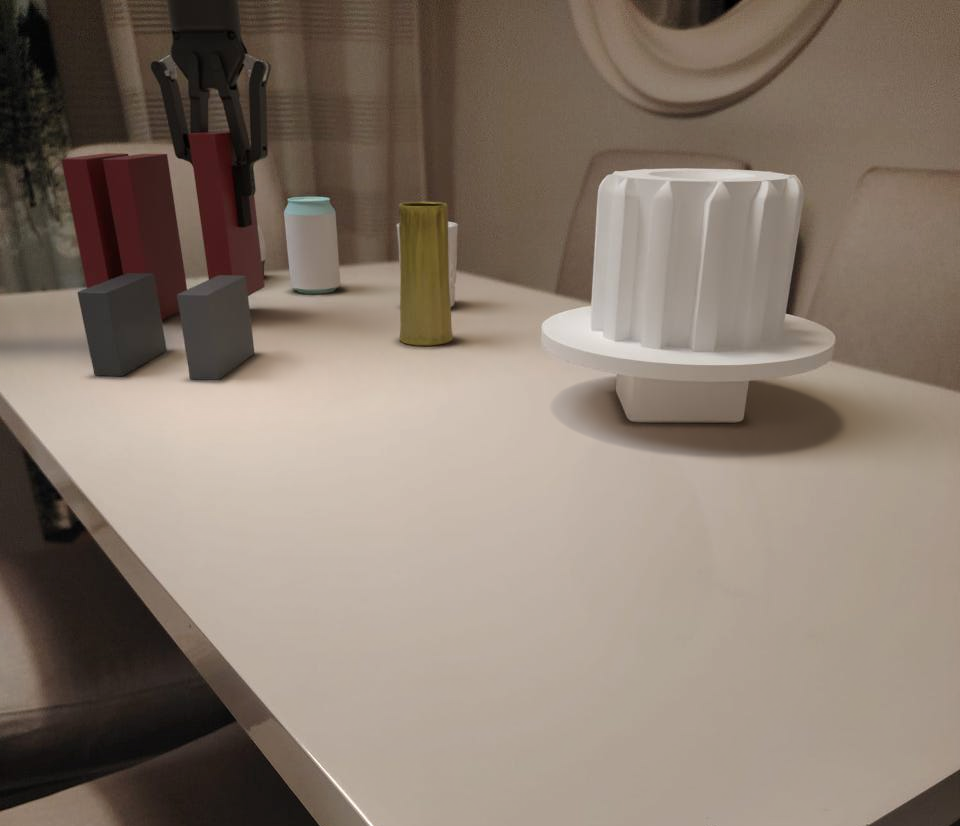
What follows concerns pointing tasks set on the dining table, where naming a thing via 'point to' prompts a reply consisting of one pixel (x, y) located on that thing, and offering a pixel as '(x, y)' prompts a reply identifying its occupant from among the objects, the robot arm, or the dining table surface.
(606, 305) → the flanged gear
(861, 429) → the dining table surface
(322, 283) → the can
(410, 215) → the vase
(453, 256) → the white cup
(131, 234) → the burgundy books
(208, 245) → the burgundy book
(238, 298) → the grey bookends
